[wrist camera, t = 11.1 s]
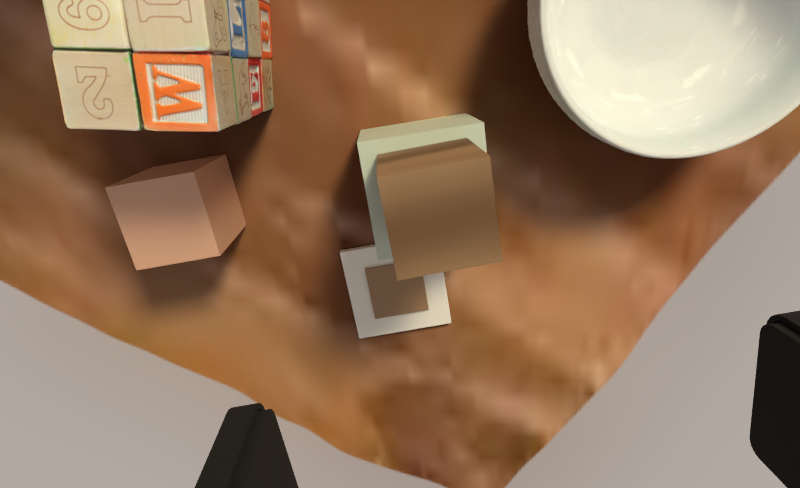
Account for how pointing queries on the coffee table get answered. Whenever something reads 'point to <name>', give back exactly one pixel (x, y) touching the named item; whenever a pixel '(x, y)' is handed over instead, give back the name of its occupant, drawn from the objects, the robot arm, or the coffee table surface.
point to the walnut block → (439, 208)
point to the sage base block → (401, 139)
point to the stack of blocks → (161, 63)
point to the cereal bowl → (669, 69)
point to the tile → (391, 295)
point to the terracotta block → (178, 211)
